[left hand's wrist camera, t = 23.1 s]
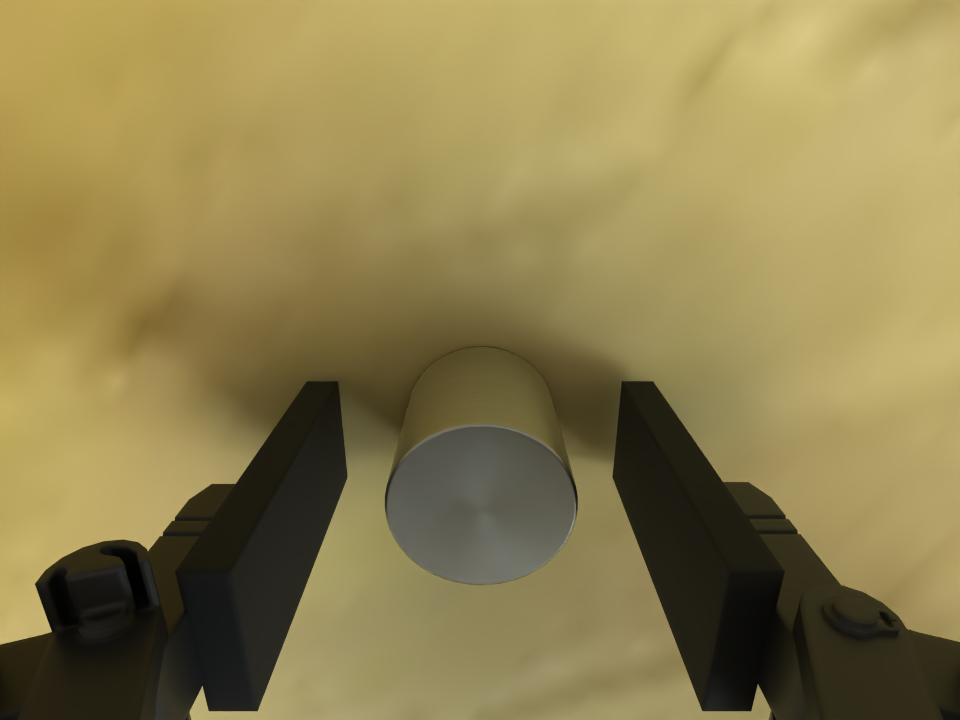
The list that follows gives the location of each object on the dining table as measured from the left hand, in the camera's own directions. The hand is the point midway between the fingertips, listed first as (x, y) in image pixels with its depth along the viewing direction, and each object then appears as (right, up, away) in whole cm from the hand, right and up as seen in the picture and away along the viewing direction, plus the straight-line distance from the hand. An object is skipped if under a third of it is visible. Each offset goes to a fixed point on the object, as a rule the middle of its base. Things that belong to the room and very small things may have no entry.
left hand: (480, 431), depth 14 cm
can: (0, 0, 0) cm, 1 cm away
